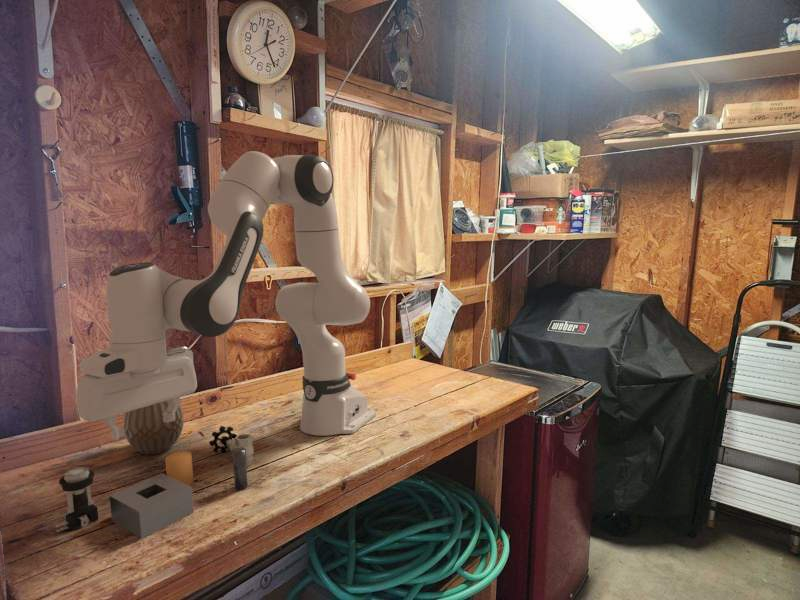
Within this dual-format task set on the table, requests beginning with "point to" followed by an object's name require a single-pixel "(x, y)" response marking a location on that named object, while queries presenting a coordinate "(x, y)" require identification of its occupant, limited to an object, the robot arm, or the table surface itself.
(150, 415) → the vase
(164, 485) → the bore block
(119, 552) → the table surface
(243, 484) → the cylinder
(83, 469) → the push button
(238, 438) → the valve
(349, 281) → the robot arm
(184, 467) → the orange rounded tapered piece
